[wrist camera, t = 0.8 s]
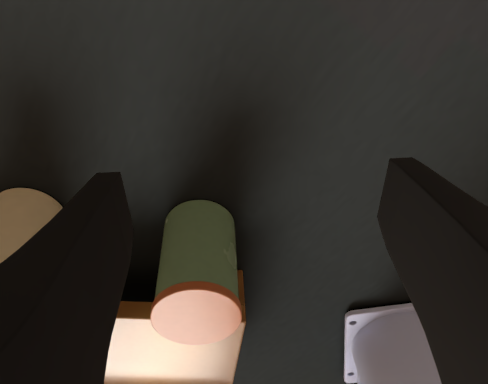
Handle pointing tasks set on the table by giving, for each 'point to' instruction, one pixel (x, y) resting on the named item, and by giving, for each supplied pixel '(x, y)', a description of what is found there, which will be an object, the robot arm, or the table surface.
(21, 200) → the cream tin
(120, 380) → the shelf
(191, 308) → the sage tin
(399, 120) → the table surface
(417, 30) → the table surface
